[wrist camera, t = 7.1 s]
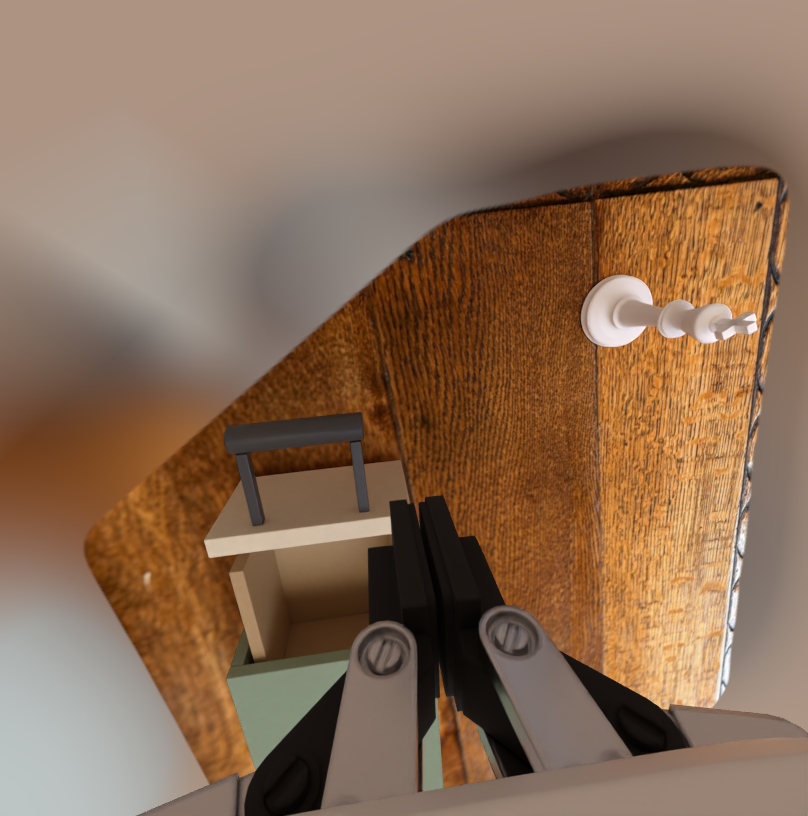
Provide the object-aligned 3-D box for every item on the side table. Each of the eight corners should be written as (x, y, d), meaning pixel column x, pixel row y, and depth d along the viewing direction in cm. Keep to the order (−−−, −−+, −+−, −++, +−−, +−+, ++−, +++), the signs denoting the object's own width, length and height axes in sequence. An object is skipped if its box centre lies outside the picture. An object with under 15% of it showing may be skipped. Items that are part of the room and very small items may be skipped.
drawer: (221, 398, 25) (172, 439, 18) (393, 381, 26) (404, 414, 19) (276, 622, 31) (254, 710, 25) (413, 602, 32) (425, 682, 26)
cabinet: (261, 573, 30) (225, 679, 22) (415, 552, 31) (433, 646, 23) (292, 698, 35) (272, 822, 27) (425, 676, 36) (443, 790, 28)
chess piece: (656, 322, 27) (812, 343, 18) (595, 359, 28) (717, 399, 18) (633, 260, 26) (791, 247, 16) (569, 300, 26) (687, 311, 17)
